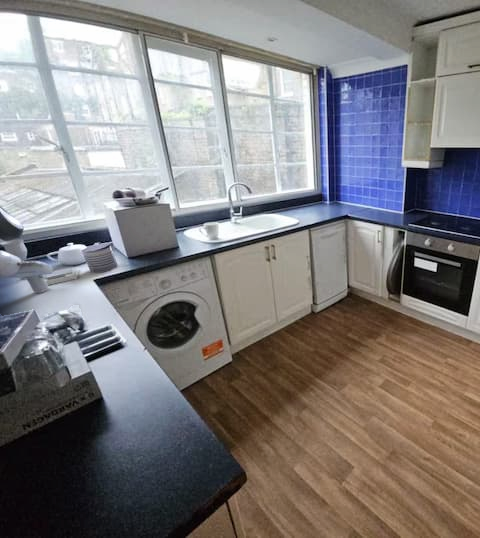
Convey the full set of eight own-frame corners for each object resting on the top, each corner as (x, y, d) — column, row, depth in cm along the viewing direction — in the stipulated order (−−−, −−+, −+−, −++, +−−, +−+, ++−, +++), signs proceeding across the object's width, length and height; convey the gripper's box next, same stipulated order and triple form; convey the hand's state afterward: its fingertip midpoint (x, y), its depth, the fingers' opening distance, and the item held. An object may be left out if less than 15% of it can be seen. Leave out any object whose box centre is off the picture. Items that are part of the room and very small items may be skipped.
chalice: (41, 272, 147) (24, 238, 140) (41, 276, 143) (23, 241, 136) (20, 277, 143) (1, 242, 135) (19, 281, 138) (-1, 245, 131)
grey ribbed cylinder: (111, 271, 147) (102, 248, 142) (85, 274, 144) (75, 251, 140) (122, 263, 157) (114, 241, 152) (97, 265, 155) (88, 243, 150)
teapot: (51, 271, 149) (42, 251, 145) (52, 263, 158) (43, 245, 154) (106, 259, 162) (99, 241, 158) (104, 253, 172) (97, 235, 167)
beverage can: (32, 294, 125) (18, 269, 120) (38, 289, 129) (24, 264, 125) (46, 292, 127) (33, 266, 122) (52, 287, 131) (39, 262, 126)
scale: (38, 287, 132) (35, 281, 131) (41, 278, 140) (39, 273, 139) (77, 278, 140) (74, 273, 139) (77, 271, 148) (75, 266, 147)
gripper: (37, 254, 116) (65, 267, 129) (-25, 259, 113) (10, 272, 125) (33, 269, 114) (62, 281, 127) (-30, 274, 110) (6, 286, 123)
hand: (36, 277), depth 126 cm, fingers closed on beverage can, 5 cm apart
